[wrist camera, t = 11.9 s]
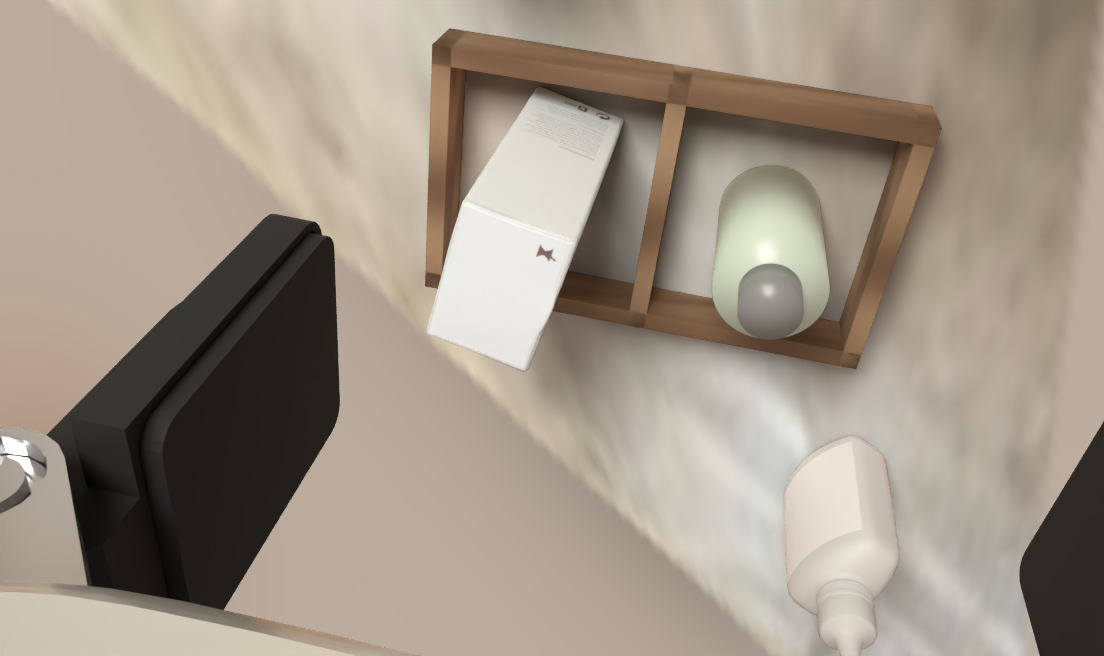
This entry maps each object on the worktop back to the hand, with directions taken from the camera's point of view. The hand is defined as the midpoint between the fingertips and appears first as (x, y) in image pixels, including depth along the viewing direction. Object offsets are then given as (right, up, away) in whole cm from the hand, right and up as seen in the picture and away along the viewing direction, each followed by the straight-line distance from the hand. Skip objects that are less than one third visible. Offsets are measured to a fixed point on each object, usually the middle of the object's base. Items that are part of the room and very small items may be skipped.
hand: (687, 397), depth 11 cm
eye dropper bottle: (+13, -7, +37) cm, 40 cm away
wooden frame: (+3, +7, +31) cm, 32 cm away
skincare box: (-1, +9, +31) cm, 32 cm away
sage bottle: (+8, +6, +30) cm, 32 cm away
